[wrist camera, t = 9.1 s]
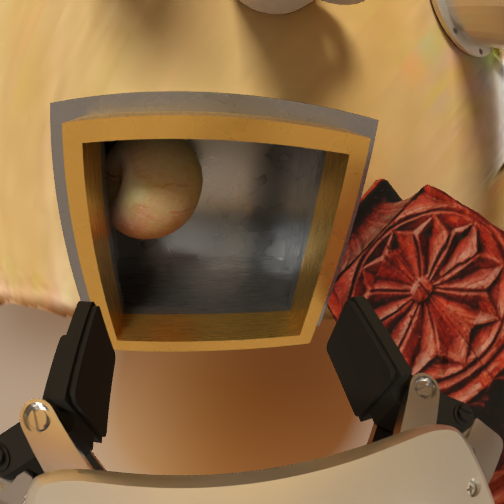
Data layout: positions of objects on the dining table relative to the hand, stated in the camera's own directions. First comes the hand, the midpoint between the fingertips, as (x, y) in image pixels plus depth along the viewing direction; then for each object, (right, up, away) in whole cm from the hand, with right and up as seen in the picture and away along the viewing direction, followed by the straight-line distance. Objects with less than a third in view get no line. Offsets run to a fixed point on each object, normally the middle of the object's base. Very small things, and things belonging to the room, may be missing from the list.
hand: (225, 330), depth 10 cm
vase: (+15, +5, +21) cm, 26 cm away
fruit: (-4, +8, +11) cm, 14 cm away
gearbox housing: (-3, +9, +14) cm, 17 cm away
